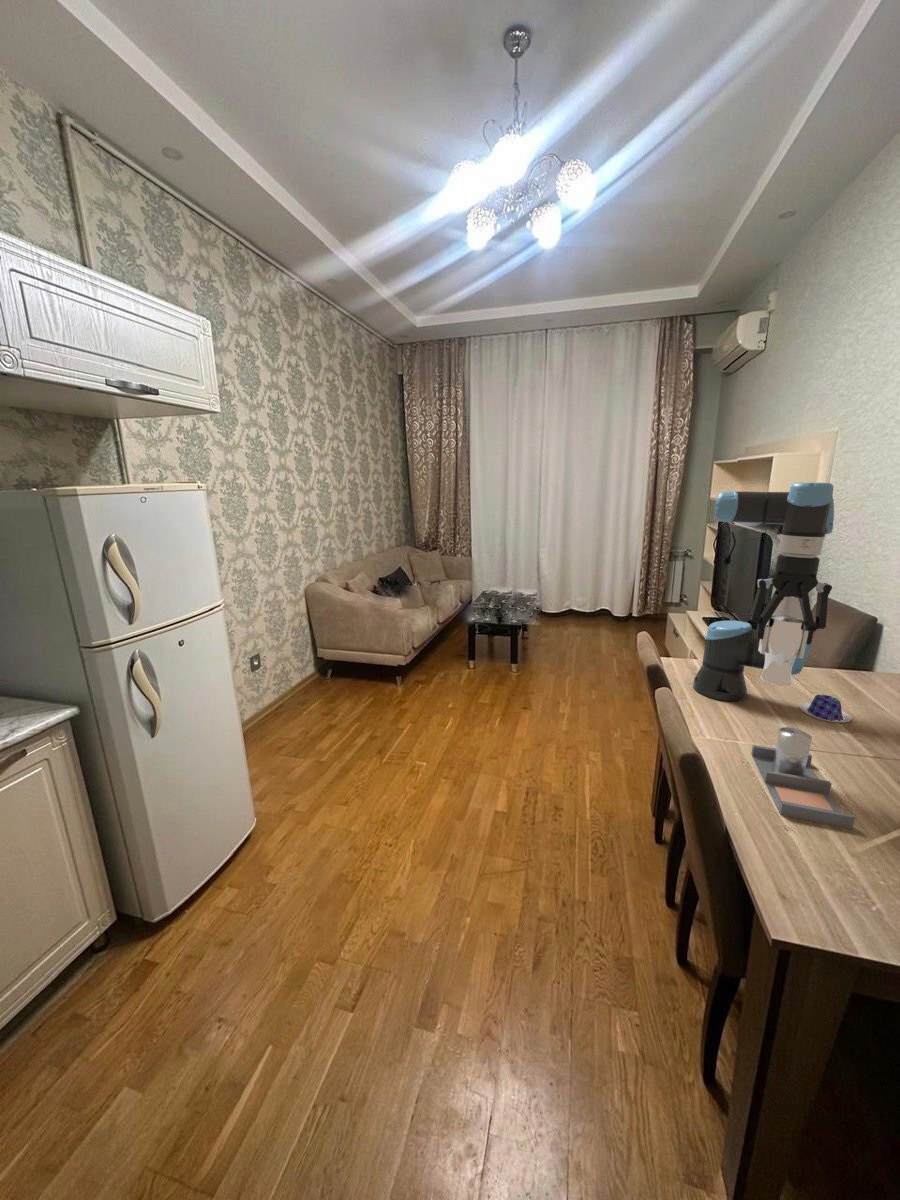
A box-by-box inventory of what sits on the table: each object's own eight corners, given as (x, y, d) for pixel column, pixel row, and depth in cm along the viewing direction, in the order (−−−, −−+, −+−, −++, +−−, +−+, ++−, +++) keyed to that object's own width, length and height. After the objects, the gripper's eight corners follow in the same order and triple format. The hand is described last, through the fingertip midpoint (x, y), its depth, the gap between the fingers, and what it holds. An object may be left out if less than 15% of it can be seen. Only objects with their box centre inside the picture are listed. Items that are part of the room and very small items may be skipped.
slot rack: (750, 756, 116) (752, 744, 115) (808, 766, 112) (810, 754, 111) (779, 817, 95) (782, 803, 94) (851, 832, 91) (855, 817, 90)
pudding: (861, 725, 131) (865, 708, 130) (816, 724, 132) (820, 707, 131) (831, 705, 143) (834, 690, 142) (790, 704, 144) (793, 688, 142)
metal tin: (765, 768, 110) (773, 730, 107) (783, 762, 112) (791, 725, 109) (791, 783, 104) (800, 743, 102) (809, 777, 106) (818, 738, 104)
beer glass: (750, 677, 111) (761, 616, 107) (770, 673, 113) (781, 613, 110) (780, 688, 104) (792, 624, 101) (800, 684, 107) (813, 621, 103)
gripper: (751, 554, 102) (734, 653, 107) (862, 560, 95) (838, 666, 101) (743, 550, 109) (728, 644, 114) (846, 555, 102) (825, 654, 107)
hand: (780, 654), depth 107 cm, fingers closed on beer glass, 7 cm apart
